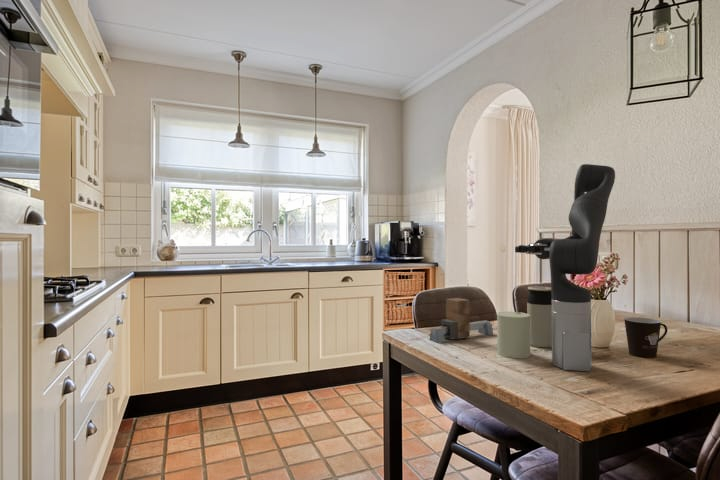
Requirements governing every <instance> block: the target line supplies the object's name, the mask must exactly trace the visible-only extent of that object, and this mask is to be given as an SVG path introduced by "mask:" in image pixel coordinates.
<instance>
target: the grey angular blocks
mask: <svg viewBox="0 0 720 480" xmlns="http://www.w3.org/2000/svg"><path fill="white" fill-rule="evenodd" d="M477 331H478V332H477V333H479V334H483V335H487V336H492V335H494V328H493V323H490V324H486V328H484V329H478V330H477ZM429 340H430V341H432V342H436V343H438V344H441V343H445V337H444V331H442V330H440V331H437V336H436V335H433V334H432V328H430V332H429Z"/></svg>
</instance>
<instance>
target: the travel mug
mask: <svg viewBox="0 0 720 480" xmlns="http://www.w3.org/2000/svg"><path fill="white" fill-rule="evenodd" d="M527 289H528V291H529V292H528V294H527V297H526V307H527V308H526V312H527V314H529V315H530V346H531V347H536V348H542V349H543V348H544V349H545V348H546V349H548V348H549V349H550V348H552V294H551V286H540V285H539V286H528V287H527Z"/></svg>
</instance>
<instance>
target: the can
mask: <svg viewBox="0 0 720 480" xmlns="http://www.w3.org/2000/svg"><path fill="white" fill-rule="evenodd" d="M496 320H497V323H496V324H497V330H496V331H497V348H496V353H497V354H498V355H500V356H502V357H505V358H511V359H526V358H530V357H531V356H532V353H531V345H530V315H529V314H527V313H525V312H519V311H499V312H497V313H496Z"/></svg>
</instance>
